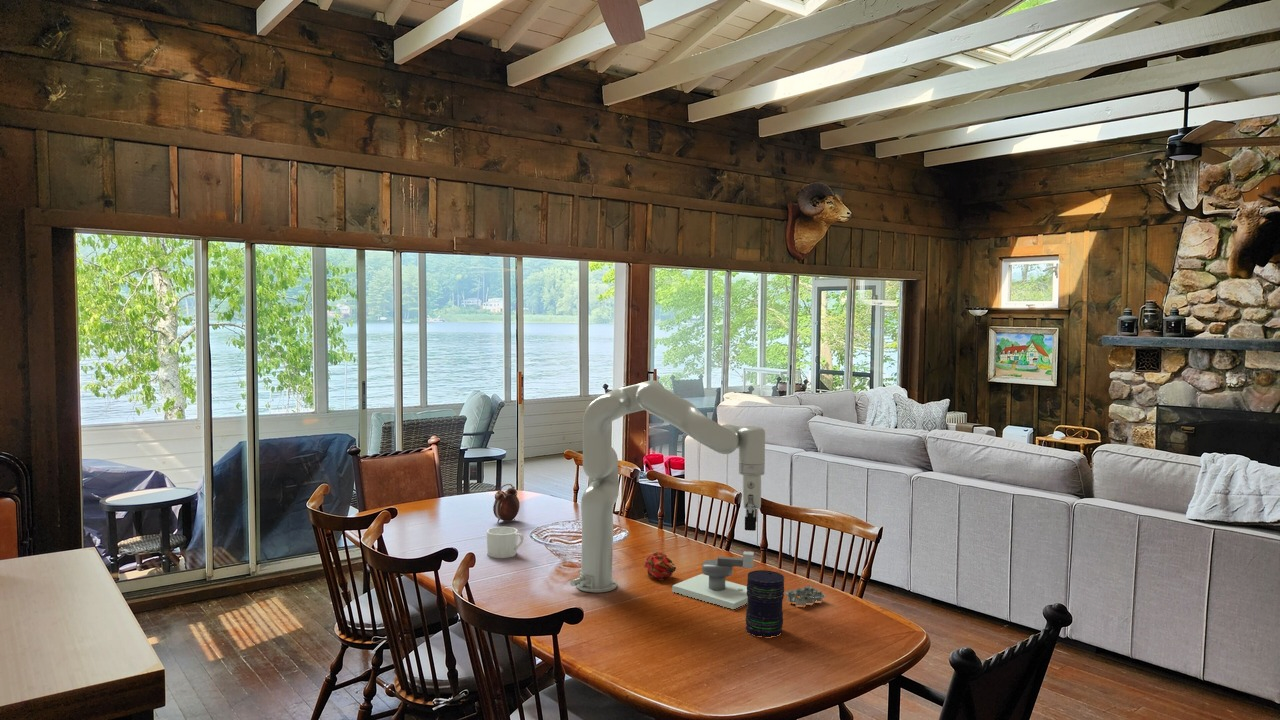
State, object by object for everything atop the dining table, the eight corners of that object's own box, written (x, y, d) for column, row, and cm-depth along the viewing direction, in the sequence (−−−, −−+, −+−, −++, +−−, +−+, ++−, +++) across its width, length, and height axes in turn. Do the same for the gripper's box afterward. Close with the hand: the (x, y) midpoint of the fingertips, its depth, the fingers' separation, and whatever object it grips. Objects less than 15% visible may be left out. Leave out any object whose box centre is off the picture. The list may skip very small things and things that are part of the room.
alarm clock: (511, 518, 324) (512, 481, 323) (520, 520, 321) (520, 483, 321) (491, 523, 315) (492, 485, 315) (500, 525, 313) (501, 487, 312)
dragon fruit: (648, 575, 263) (671, 591, 253) (633, 565, 258) (655, 580, 248) (663, 553, 264) (686, 568, 255) (648, 542, 260) (671, 557, 250)
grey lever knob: (700, 575, 238) (701, 554, 238) (703, 566, 247) (704, 545, 247) (752, 579, 236) (753, 557, 235) (753, 570, 245) (753, 549, 244)
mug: (480, 556, 274) (480, 532, 274) (497, 547, 284) (497, 525, 283) (514, 561, 269) (515, 537, 269) (530, 553, 279) (531, 530, 278)
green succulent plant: (799, 610, 232) (800, 596, 231) (782, 602, 238) (782, 588, 238) (827, 604, 237) (827, 590, 237) (809, 596, 244) (810, 582, 243)
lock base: (733, 610, 230) (734, 588, 229) (672, 591, 244) (672, 570, 243) (761, 597, 241) (762, 575, 241) (701, 580, 255) (701, 559, 255)
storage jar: (773, 641, 208) (775, 584, 208) (739, 632, 214) (740, 577, 213) (788, 629, 217) (790, 574, 216) (754, 621, 222) (756, 567, 221)
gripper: (764, 474, 229) (763, 534, 230) (765, 463, 246) (764, 519, 247) (737, 473, 231) (736, 533, 232) (740, 462, 248) (739, 518, 249)
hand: (750, 525), depth 239 cm, fingers open, 9 cm apart
